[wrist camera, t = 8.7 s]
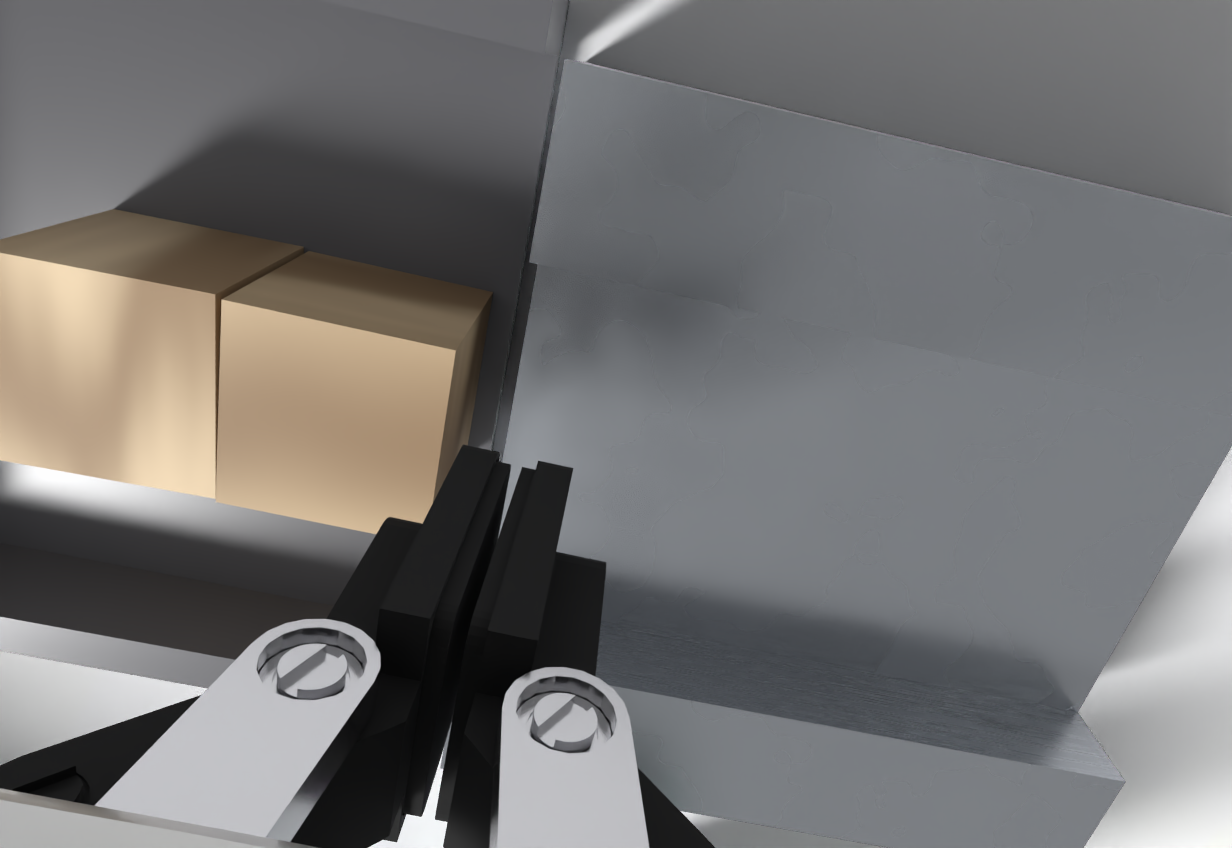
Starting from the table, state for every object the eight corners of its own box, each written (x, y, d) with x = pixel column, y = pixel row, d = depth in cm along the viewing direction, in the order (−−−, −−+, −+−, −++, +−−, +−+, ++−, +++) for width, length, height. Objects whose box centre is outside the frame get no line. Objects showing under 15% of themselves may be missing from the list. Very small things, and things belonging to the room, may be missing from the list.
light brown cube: (308, 250, 17) (221, 299, 14) (493, 292, 18) (455, 350, 14) (296, 418, 19) (215, 502, 15) (466, 453, 19) (426, 544, 16)
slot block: (584, 61, 16) (564, 58, 12) (1234, 215, 17) (1452, 270, 13) (481, 621, 22) (440, 768, 17) (977, 715, 23) (1064, 879, 18)
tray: (-180, -181, 15) (-363, -237, 12) (569, 1, 16) (555, -14, 13) (-74, 547, 21) (-178, 618, 19) (457, 647, 22) (432, 729, 19)
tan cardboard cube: (303, 246, 17) (113, 208, 17) (215, 294, 14) (-29, 246, 13) (296, 415, 19) (122, 383, 19) (215, 499, 15) (-3, 459, 15)
